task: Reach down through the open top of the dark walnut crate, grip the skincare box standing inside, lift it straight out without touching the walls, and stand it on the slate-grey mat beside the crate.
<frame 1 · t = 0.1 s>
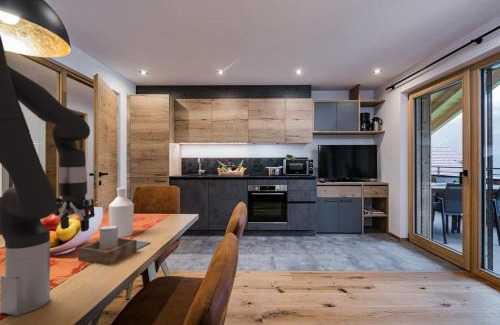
hand: (74, 229, 81), 17 cm above the table, tool pointing down, fingers open, 8 cm apart
mat: (136, 245, 116), on the table
skincare box: (108, 256, 104), resting in crate
bottle: (121, 234, 133), on the table
crate: (108, 255, 104), on the table
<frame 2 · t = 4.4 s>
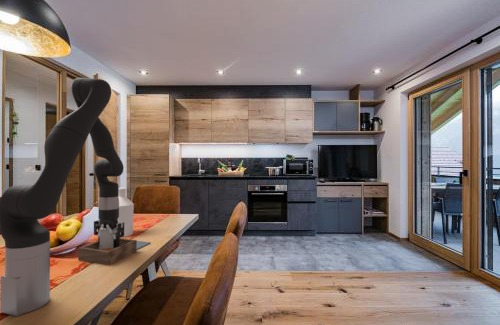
hand: (108, 246, 104), 4 cm above the table, tool pointing down, fingers closed on skincare box, 7 cm apart
skincare box: (108, 256, 104), resting in crate, touching gripper
everything else where it was.
when the fingers open (6 cm above the table, at t = 12.5 s): skincare box drops 1 cm, resting on mat.
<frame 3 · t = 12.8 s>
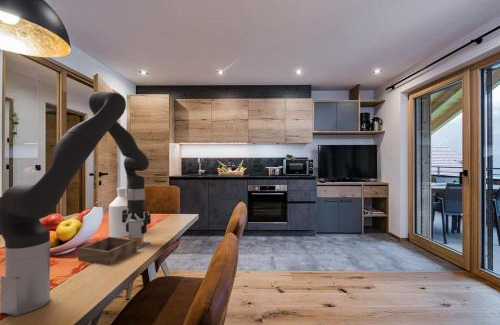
hand: (136, 232, 116), 6 cm above the table, tool pointing down, fingers open, 8 cm apart
skincare box: (136, 245, 116), resting on mat
everything else where it was.
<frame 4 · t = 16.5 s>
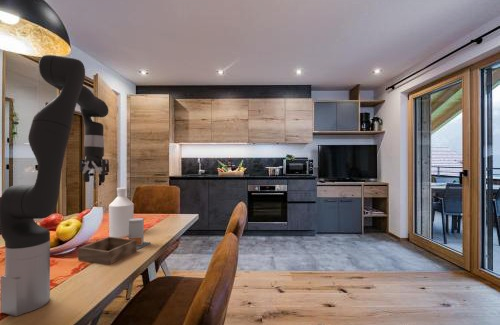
hand: (94, 182, 110), 30 cm above the table, tool pointing down, fingers open, 8 cm apart
nothing on the table moved.
at the end: skincare box inside the target area on the mat (0.2 cm from its centre), point 0.3 cm above the mat's base; skincare box tilted 0°; skincare box touching mat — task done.
